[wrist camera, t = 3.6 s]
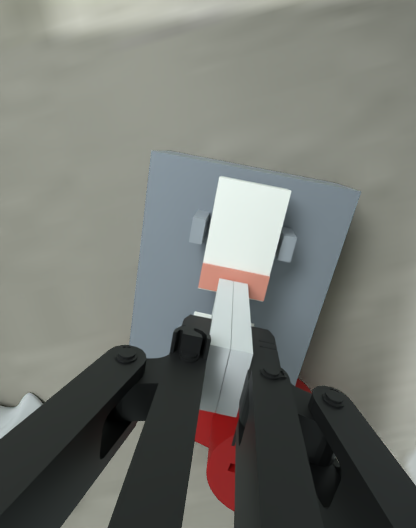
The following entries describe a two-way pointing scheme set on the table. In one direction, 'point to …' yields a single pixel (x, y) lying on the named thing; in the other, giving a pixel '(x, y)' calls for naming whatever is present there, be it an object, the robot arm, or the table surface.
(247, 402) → the robot arm
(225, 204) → the rocker
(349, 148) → the table surface
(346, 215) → the panel
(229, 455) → the lever
